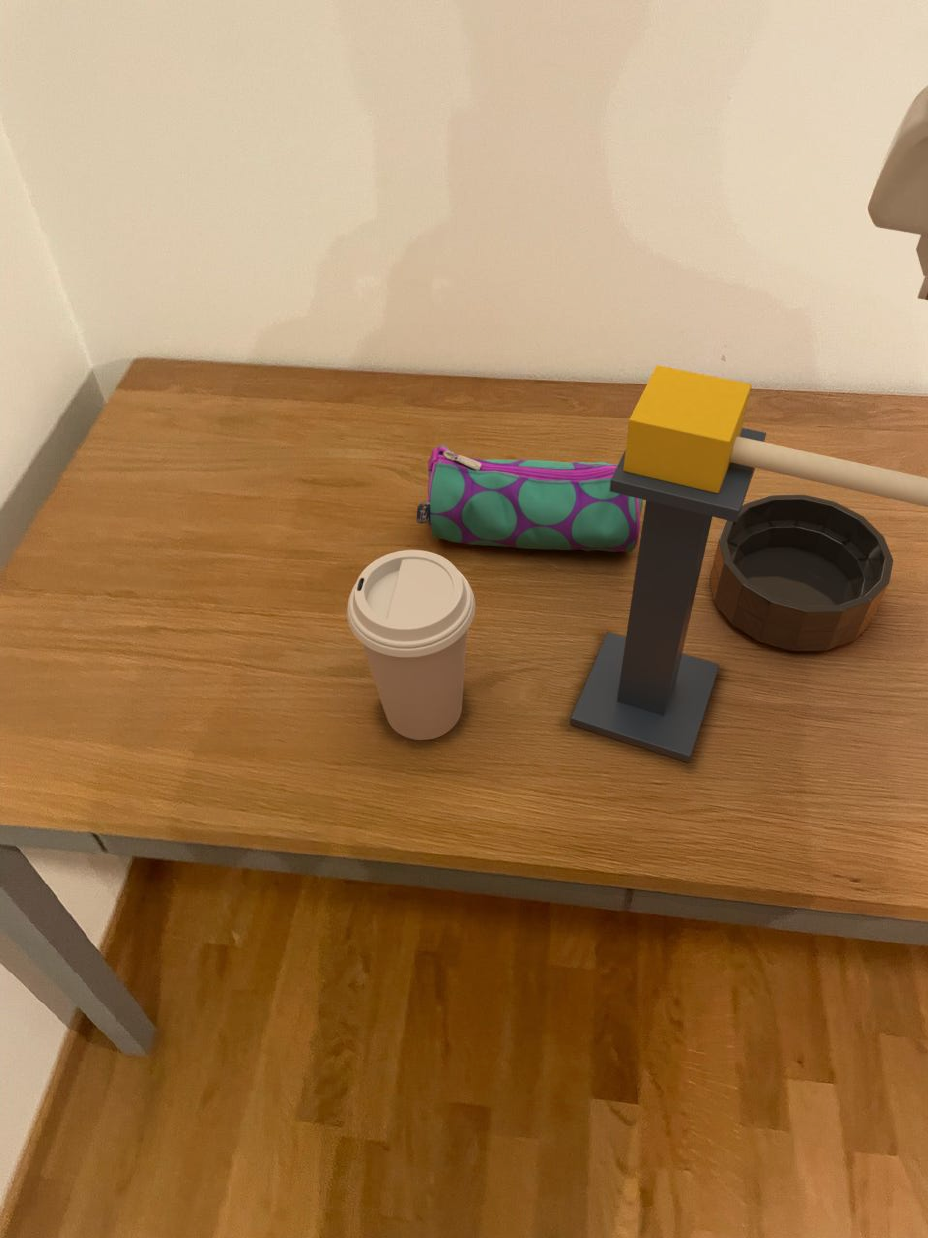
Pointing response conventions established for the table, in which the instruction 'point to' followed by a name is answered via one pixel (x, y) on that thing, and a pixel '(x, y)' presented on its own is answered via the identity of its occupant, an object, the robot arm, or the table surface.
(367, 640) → the coffee cup
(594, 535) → the pencil case
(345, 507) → the table surface
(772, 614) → the bowl
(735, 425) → the sponge wand
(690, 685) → the stand
